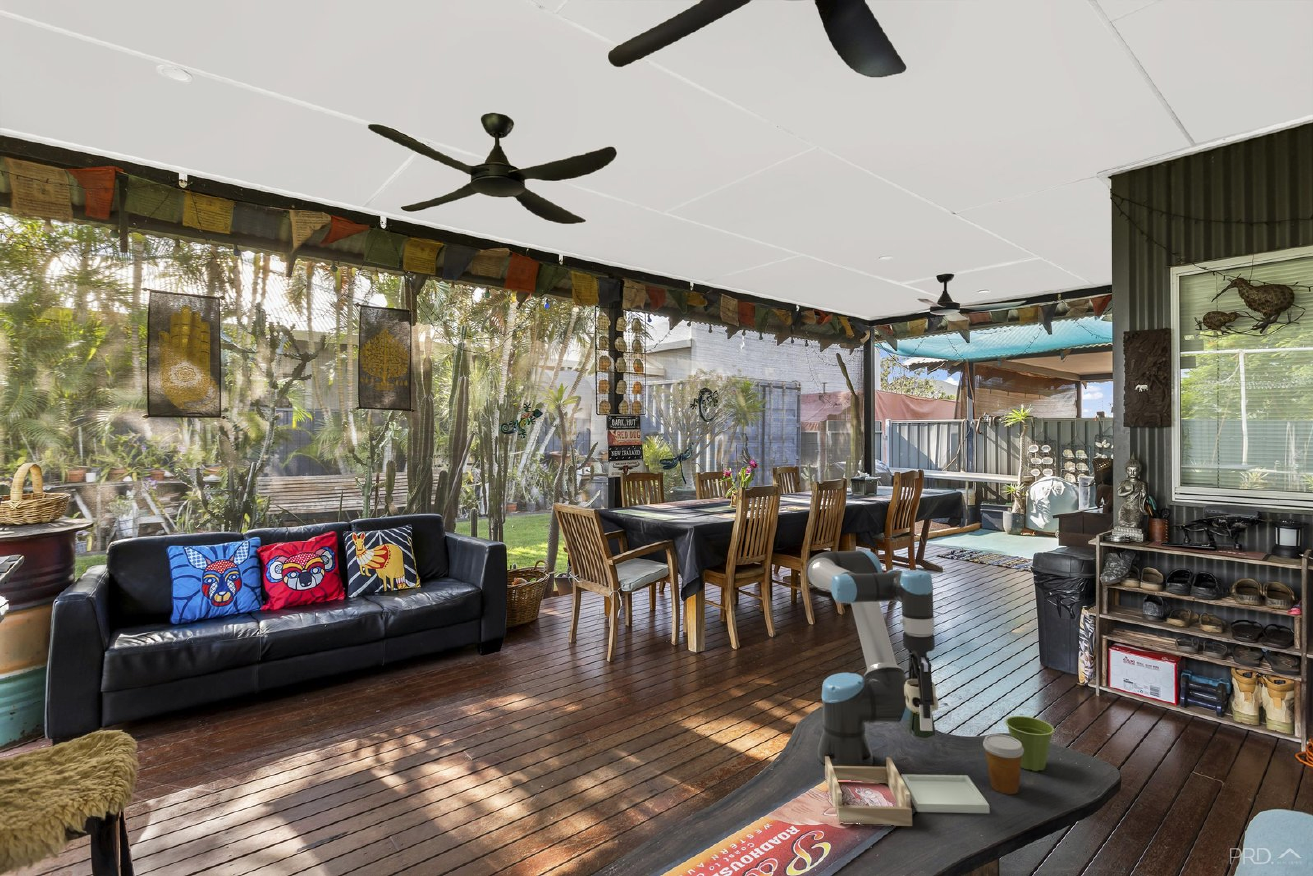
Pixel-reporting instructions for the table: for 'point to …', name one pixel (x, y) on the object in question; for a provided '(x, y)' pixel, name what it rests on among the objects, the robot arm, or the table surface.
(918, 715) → the character mug
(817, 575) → the robot arm
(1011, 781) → the disposable coffee cup
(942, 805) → the tray
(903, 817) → the wooden frame
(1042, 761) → the plant pot
